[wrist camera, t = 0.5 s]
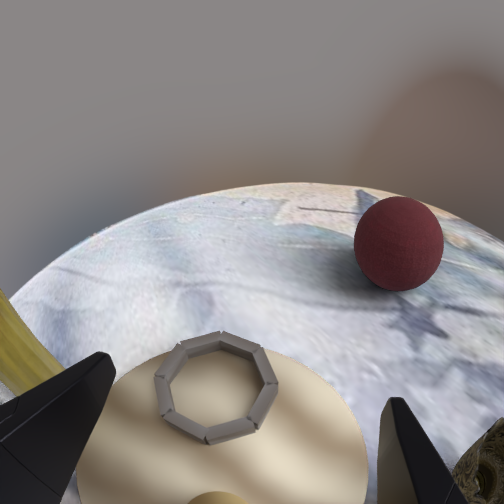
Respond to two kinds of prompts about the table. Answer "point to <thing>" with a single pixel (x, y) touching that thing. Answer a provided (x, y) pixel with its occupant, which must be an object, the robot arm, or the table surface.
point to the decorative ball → (398, 243)
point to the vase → (22, 353)
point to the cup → (483, 468)
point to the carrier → (223, 432)
